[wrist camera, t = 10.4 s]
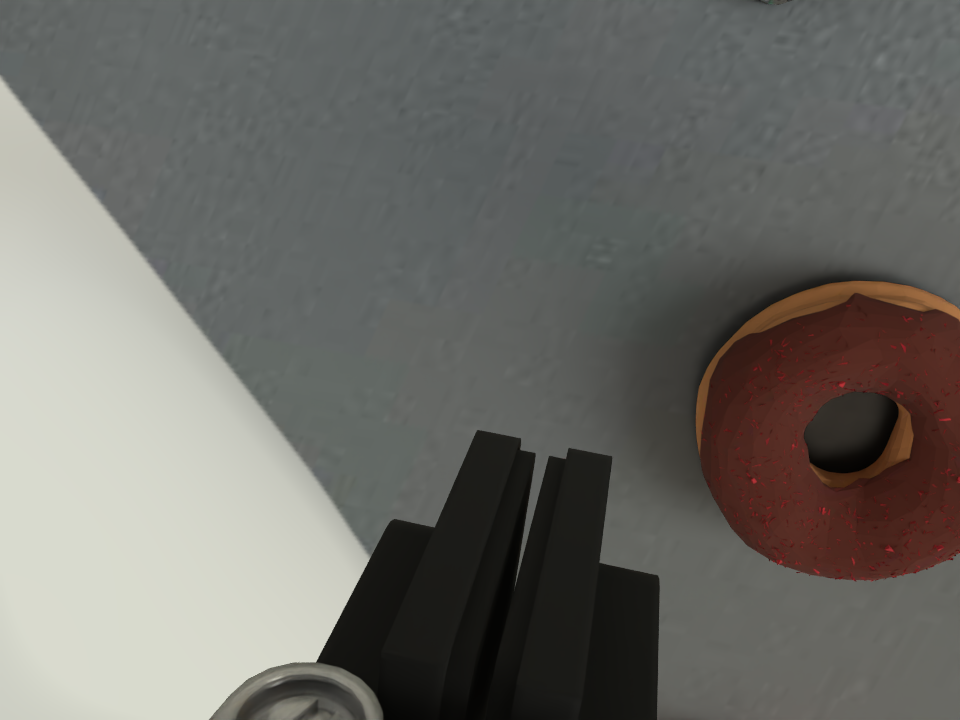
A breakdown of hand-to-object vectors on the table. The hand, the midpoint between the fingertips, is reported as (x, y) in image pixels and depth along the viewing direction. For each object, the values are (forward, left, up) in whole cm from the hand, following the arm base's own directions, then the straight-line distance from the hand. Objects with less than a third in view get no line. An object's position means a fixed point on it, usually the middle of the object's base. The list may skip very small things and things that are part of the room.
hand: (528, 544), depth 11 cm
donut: (+10, -4, -20) cm, 23 cm away
